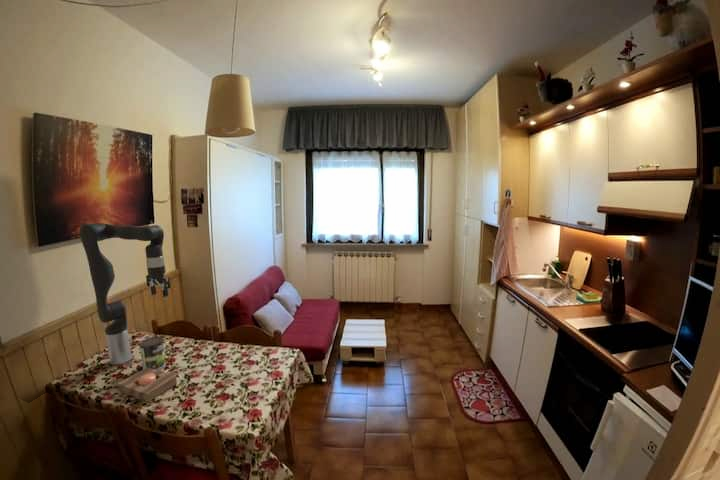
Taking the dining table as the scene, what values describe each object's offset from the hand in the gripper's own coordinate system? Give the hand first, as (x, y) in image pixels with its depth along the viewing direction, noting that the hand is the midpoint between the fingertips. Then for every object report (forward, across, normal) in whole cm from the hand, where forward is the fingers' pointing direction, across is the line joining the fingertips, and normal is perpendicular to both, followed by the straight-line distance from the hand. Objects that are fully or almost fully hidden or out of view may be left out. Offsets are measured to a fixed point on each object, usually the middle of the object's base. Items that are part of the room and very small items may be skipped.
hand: (159, 295), depth 160 cm
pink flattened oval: (+38, +10, -18) cm, 43 cm away
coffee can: (+38, -4, -5) cm, 39 cm away
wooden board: (+38, +10, -18) cm, 43 cm away
